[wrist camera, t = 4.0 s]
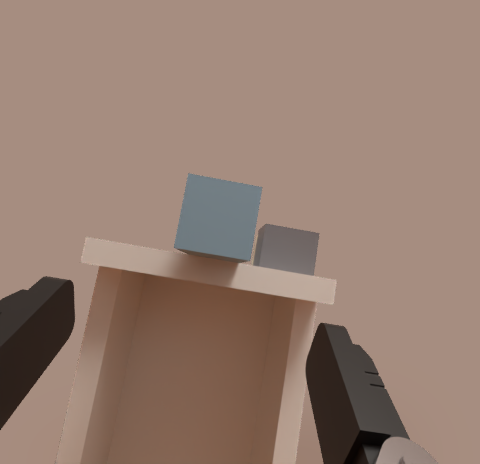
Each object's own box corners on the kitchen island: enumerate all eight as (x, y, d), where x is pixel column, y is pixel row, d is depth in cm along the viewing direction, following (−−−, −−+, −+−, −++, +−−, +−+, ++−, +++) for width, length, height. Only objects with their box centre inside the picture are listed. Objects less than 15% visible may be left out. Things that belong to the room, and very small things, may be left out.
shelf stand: (-27, 722, 20) (86, 236, 24) (81, 521, 36) (138, 249, 40) (276, 750, 21) (336, 279, 25) (251, 543, 37) (290, 275, 41)
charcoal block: (258, 267, 28) (265, 223, 28) (252, 267, 33) (258, 230, 33) (313, 276, 28) (319, 233, 28) (298, 275, 33) (304, 238, 33)
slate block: (173, 247, 16) (188, 173, 16) (199, 259, 38) (205, 227, 38) (250, 260, 16) (262, 187, 17) (231, 264, 38) (237, 232, 38)
